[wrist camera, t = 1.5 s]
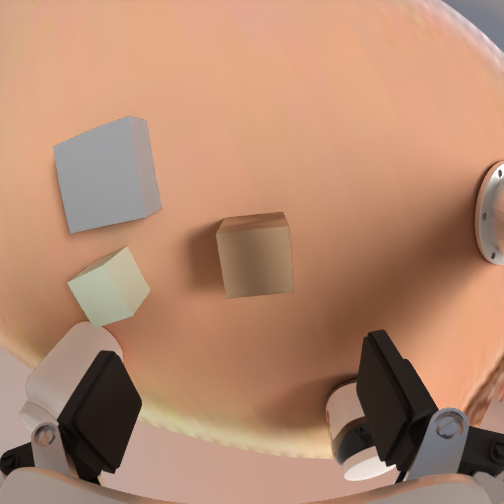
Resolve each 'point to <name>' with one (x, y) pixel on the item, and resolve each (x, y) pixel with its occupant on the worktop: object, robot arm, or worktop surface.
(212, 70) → the worktop surface
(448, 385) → the worktop surface
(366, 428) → the spread jar
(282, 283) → the walnut cube
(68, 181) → the base block
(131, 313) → the sage cube
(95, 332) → the pill bottle
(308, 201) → the worktop surface
